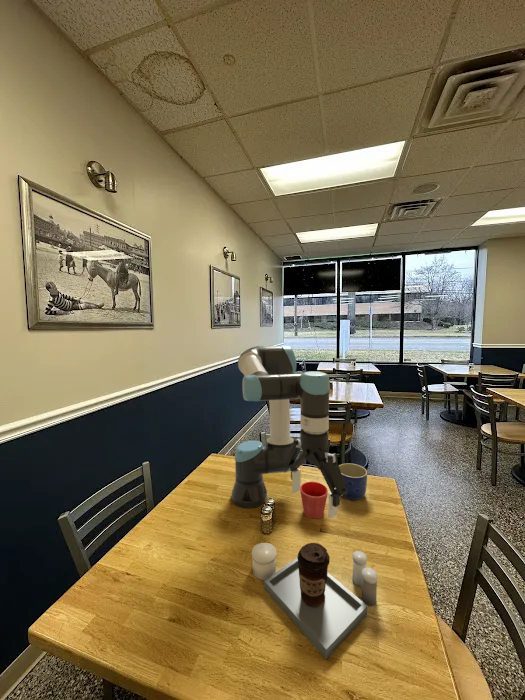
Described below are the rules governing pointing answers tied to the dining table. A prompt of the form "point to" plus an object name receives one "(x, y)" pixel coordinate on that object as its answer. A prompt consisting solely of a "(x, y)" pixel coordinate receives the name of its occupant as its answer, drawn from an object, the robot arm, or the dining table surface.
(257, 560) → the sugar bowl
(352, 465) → the planter
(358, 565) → the salt shaker
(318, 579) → the coffee cup
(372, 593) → the pepper shaker
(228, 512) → the dining table surface
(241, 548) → the dining table surface
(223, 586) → the dining table surface
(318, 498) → the flower pot
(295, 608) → the tray
